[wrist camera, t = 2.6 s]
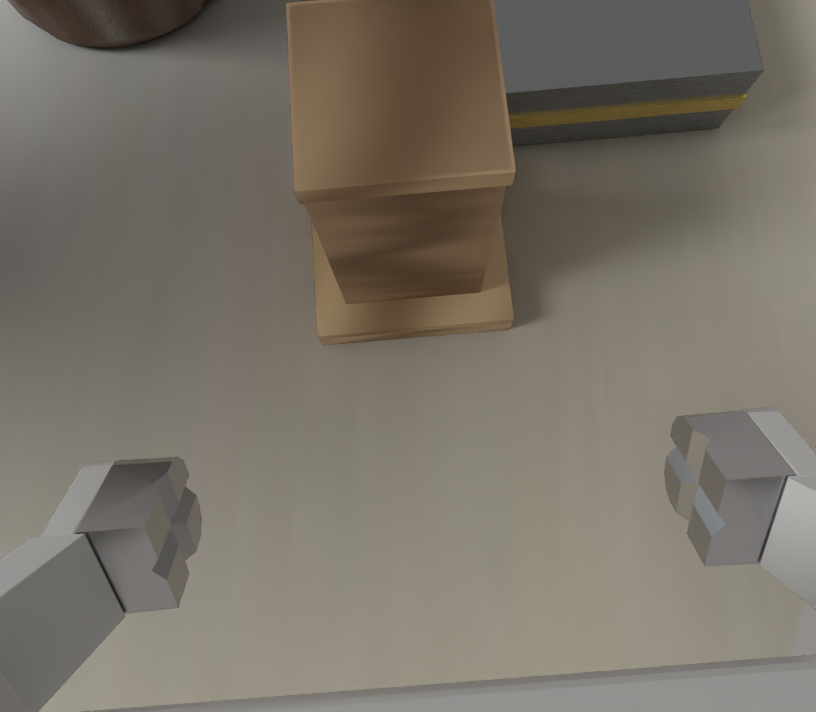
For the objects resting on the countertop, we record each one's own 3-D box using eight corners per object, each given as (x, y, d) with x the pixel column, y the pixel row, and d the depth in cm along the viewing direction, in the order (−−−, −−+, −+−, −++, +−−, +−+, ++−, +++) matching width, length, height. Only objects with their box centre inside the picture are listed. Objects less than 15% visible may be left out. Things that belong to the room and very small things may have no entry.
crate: (344, 306, 26) (294, 191, 16) (336, 180, 27) (285, 2, 18) (482, 294, 26) (515, 171, 16) (468, 168, 27) (491, -16, 18)
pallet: (323, 345, 27) (317, 336, 26) (314, 175, 29) (308, 158, 28) (509, 329, 27) (514, 319, 26) (489, 159, 29) (492, 141, 28)
